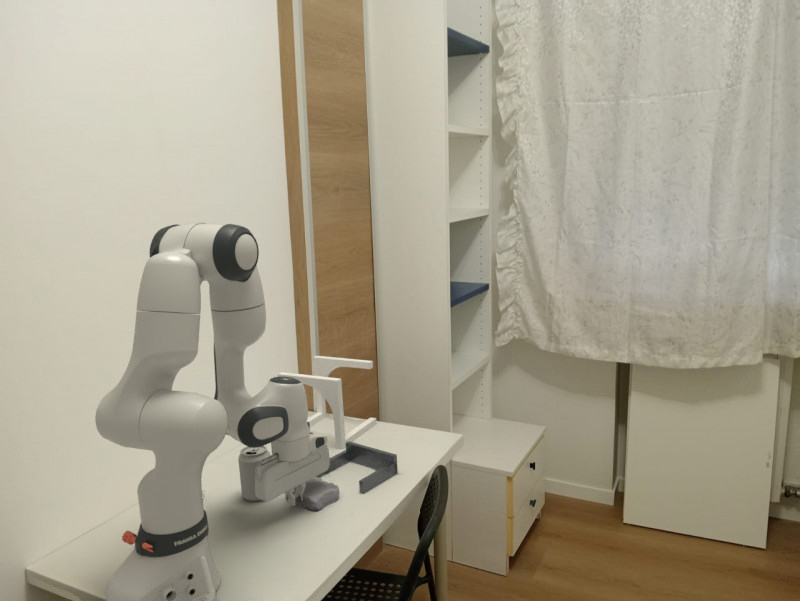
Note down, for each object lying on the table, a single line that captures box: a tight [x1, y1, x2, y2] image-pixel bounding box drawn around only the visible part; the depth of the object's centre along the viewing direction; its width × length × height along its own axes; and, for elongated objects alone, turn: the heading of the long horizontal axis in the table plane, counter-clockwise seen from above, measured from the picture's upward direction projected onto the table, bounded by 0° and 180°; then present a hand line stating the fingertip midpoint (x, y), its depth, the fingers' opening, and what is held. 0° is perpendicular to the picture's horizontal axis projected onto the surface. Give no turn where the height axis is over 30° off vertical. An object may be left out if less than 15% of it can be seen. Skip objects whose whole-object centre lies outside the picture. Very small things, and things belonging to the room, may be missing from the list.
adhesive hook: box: [202, 489, 206, 500], centre depth 164 cm, size 3×3×3 cm
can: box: [237, 445, 271, 502], centre depth 163 cm, size 8×8×12 cm
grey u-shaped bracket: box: [316, 441, 398, 494], centre depth 172 cm, size 13×16×5 cm
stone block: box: [285, 477, 340, 512], centre depth 162 cm, size 12×5×10 cm
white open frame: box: [277, 355, 377, 450], centre depth 200 cm, size 20×20×20 cm
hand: (295, 502), depth 156 cm, fingers closed
